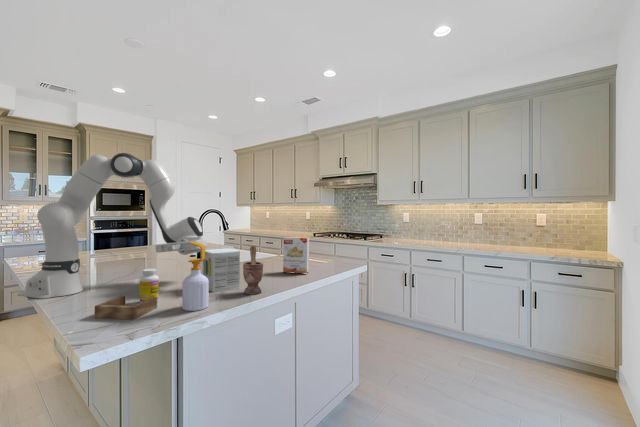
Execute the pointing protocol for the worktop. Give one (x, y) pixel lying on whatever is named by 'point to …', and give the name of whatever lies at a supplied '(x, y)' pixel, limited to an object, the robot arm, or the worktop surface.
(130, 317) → the corral
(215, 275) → the supplement box
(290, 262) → the cracker box
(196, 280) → the soap bottle
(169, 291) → the worktop surface
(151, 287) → the supplement bottle
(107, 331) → the worktop surface
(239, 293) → the worktop surface
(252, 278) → the mortar and pestle
